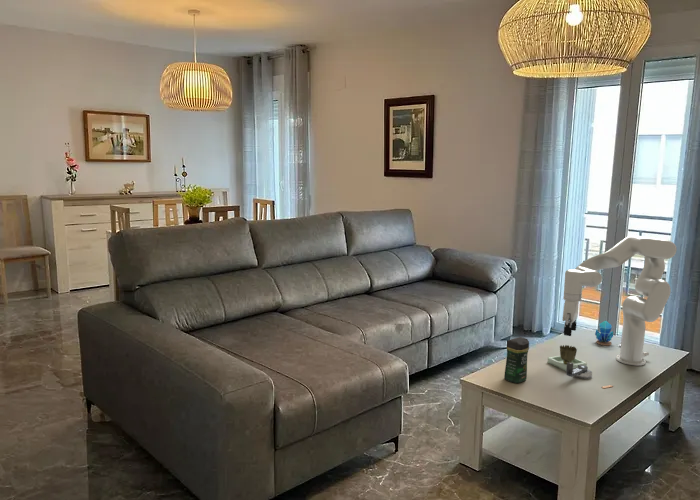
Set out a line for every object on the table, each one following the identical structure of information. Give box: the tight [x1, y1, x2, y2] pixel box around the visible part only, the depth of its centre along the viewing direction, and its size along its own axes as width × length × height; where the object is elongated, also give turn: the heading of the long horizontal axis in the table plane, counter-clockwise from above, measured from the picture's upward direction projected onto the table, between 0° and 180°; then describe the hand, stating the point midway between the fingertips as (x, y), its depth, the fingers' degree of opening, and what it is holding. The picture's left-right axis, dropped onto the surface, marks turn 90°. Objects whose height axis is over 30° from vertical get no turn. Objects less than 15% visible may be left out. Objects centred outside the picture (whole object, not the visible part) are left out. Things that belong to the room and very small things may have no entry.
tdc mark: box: [601, 384, 613, 389], centre depth 228 cm, size 5×1×1 cm, turn 113°
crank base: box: [573, 368, 593, 380], centre depth 240 cm, size 8×8×2 cm
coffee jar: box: [503, 336, 530, 384], centre depth 233 cm, size 10×8×19 cm
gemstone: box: [594, 320, 614, 347], centre depth 283 cm, size 7×9×12 cm
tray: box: [547, 355, 588, 372], centre depth 252 cm, size 12×12×2 cm
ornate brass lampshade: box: [559, 344, 578, 365], centre depth 252 cm, size 8×7×8 cm
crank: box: [565, 362, 589, 378], centre depth 236 cm, size 14×4×6 cm, turn 128°
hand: (569, 332), depth 250 cm, fingers open, 9 cm apart
